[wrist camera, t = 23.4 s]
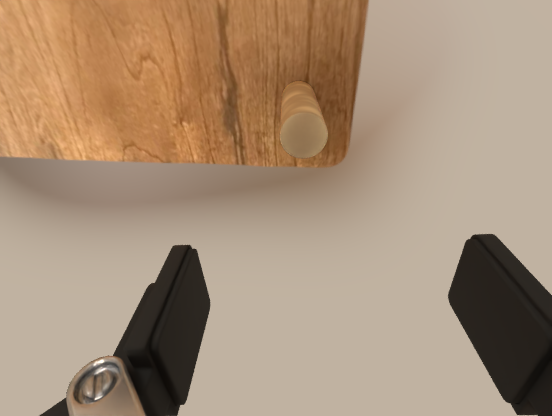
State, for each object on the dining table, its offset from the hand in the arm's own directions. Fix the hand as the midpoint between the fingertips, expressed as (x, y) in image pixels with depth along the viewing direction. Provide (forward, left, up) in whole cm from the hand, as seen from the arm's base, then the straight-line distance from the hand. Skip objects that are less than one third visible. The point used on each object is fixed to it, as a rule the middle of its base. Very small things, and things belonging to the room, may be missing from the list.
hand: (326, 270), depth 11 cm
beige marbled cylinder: (0, 0, -26) cm, 26 cm away
